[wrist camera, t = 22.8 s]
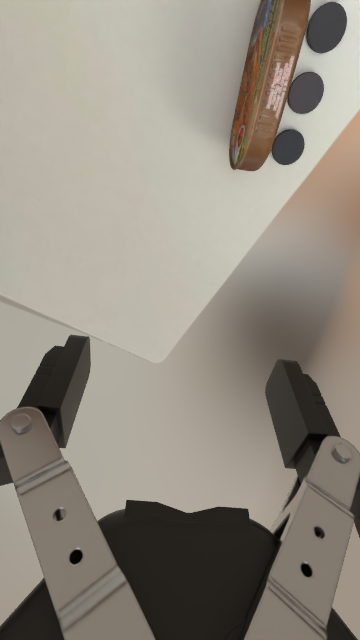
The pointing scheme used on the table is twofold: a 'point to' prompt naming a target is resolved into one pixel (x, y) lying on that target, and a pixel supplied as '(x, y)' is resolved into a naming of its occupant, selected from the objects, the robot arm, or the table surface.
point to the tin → (266, 80)
